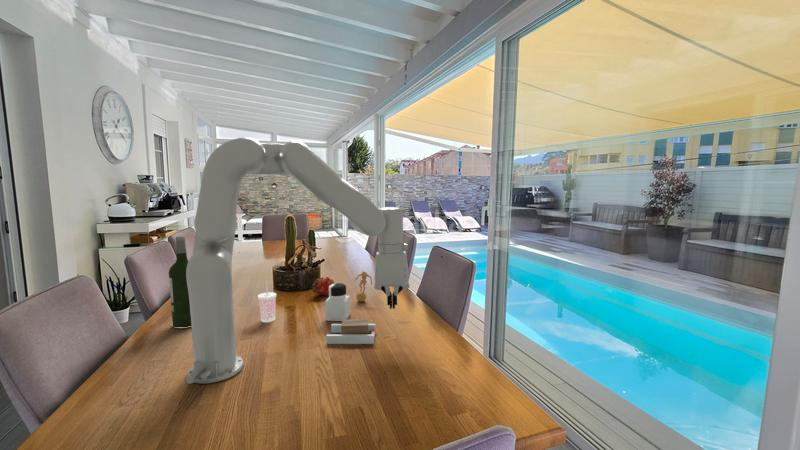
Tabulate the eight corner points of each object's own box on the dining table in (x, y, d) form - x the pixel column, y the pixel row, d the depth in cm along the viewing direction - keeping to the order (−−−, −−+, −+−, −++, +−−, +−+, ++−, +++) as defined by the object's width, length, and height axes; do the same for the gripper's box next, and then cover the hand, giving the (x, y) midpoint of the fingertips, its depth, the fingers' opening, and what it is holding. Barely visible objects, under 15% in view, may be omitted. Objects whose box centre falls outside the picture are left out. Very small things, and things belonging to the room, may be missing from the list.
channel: (373, 343, 106) (373, 335, 106) (326, 343, 106) (326, 335, 106) (375, 331, 115) (375, 323, 115) (331, 331, 115) (331, 323, 115)
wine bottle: (175, 321, 123) (169, 235, 120) (201, 318, 126) (196, 234, 122) (170, 330, 116) (163, 239, 112) (198, 327, 118) (191, 237, 115)
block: (368, 341, 109) (368, 325, 108) (341, 341, 108) (341, 325, 107) (368, 334, 114) (368, 318, 113) (342, 334, 113) (342, 319, 112)
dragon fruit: (310, 301, 148) (333, 299, 157) (321, 293, 144) (344, 290, 153) (304, 283, 152) (327, 281, 161) (315, 274, 147) (338, 272, 156)
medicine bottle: (350, 314, 130) (349, 282, 129) (345, 321, 123) (344, 287, 122) (331, 313, 131) (330, 281, 130) (325, 321, 124) (324, 287, 122)
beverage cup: (255, 322, 123) (253, 282, 121) (265, 315, 129) (264, 277, 127) (270, 324, 121) (269, 283, 120) (281, 317, 127) (279, 278, 126)
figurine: (349, 301, 144) (349, 272, 143) (358, 297, 150) (357, 269, 148) (367, 304, 141) (367, 274, 139) (375, 300, 146) (375, 271, 144)
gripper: (415, 245, 111) (416, 302, 114) (367, 246, 111) (369, 303, 114) (416, 250, 104) (417, 311, 106) (364, 251, 104) (367, 312, 106)
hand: (392, 307), depth 110 cm, fingers closed
